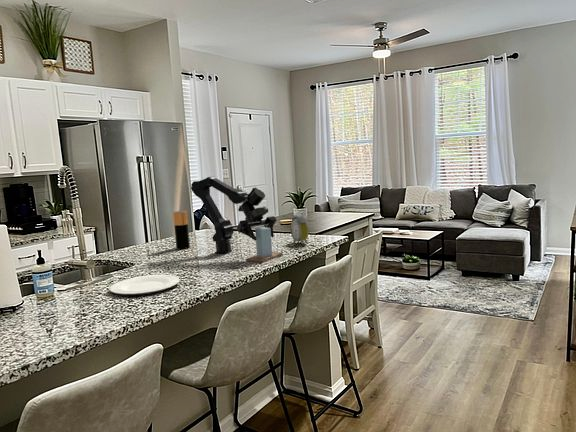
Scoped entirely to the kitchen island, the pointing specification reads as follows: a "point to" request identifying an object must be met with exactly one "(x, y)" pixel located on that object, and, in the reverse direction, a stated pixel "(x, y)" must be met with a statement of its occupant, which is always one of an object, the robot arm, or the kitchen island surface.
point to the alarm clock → (299, 228)
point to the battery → (181, 229)
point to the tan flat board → (264, 259)
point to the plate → (144, 284)
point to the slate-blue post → (263, 242)
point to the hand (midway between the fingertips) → (264, 238)
